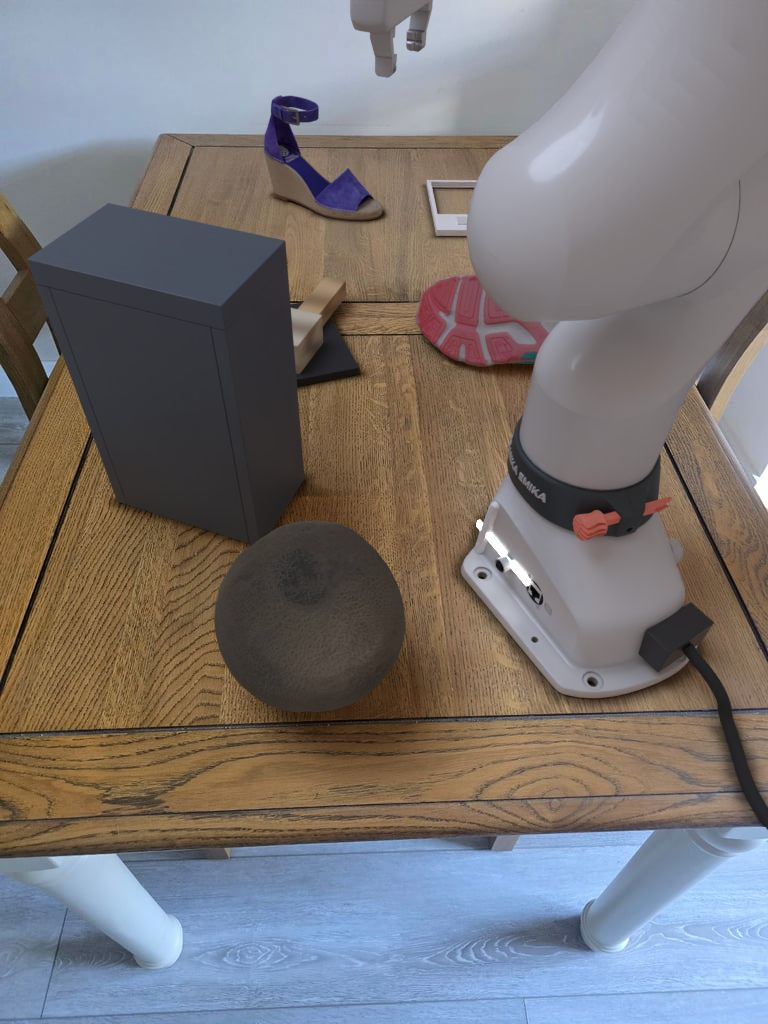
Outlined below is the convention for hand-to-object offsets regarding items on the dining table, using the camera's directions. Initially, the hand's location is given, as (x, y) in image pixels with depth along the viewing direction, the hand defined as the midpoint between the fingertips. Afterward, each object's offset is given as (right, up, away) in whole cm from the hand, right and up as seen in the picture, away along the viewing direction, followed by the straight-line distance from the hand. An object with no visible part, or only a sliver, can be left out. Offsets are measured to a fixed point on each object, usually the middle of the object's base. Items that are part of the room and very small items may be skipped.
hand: (401, 61), depth 74 cm
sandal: (-11, +3, +42) cm, 43 cm away
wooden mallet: (-12, -25, +15) cm, 31 cm away
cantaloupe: (-8, -61, -16) cm, 63 cm away
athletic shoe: (+15, -28, +15) cm, 35 cm away
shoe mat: (-12, -26, +15) cm, 33 cm away
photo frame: (+13, +2, +42) cm, 44 cm away
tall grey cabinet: (-19, -45, -2) cm, 49 cm away
